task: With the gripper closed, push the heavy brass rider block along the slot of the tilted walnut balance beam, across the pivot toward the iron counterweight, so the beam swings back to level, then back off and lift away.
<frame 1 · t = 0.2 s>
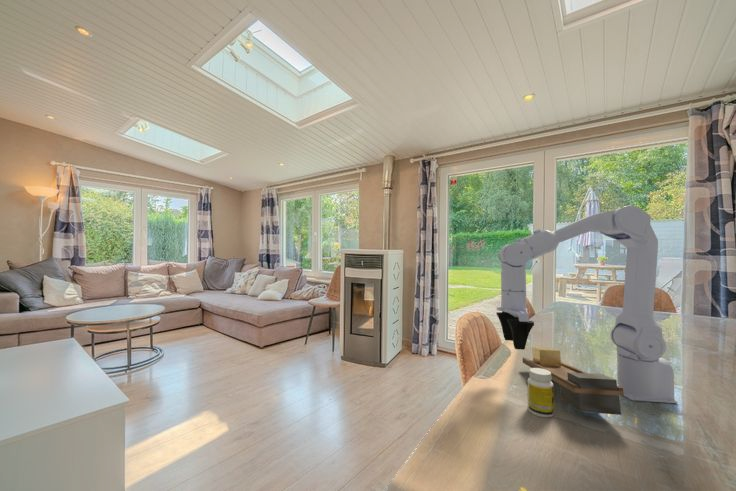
hand: (514, 344, 77), 10 cm above the table, tool pointing down, fingers open, 7 cm apart
beam: (563, 377, 72), point 4 cm above the table, hinge at 8.1°, touching rider
rider: (546, 364, 81), point 4 cm above the table, tilted 8°, touching beam
stand: (563, 393, 72), on the table
supplement bottle: (540, 412, 63), on the table
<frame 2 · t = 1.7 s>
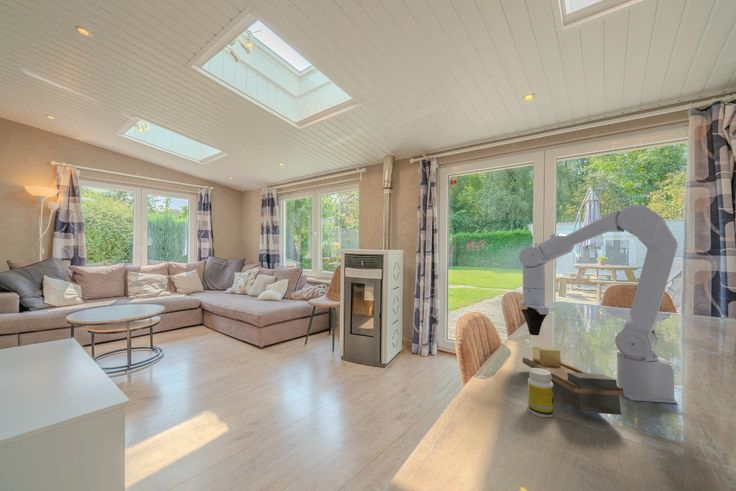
hand: (534, 334, 89), 9 cm above the table, tool pointing down, fingers closed
nothing on the table moved.
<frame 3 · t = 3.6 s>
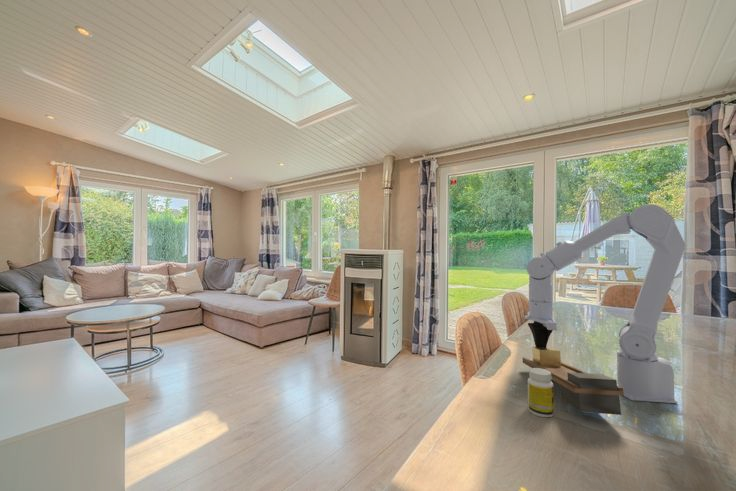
hand: (540, 350, 84), 6 cm above the table, tool pointing down, fingers closed
rider: (546, 364, 81), point 4 cm above the table, tilted 8°, touching beam, gripper
everything else where it was.
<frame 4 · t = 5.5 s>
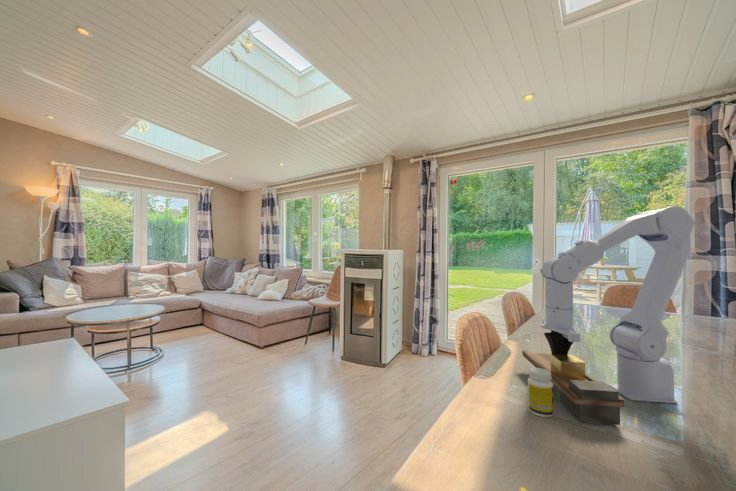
hand: (559, 363, 73), 6 cm above the table, tool pointing down, fingers closed
beam: (563, 377, 72), point 4 cm above the table, hinge at -0.3°
rider: (567, 375, 70), point 5 cm above the table, touching gripper
everything else where it was.
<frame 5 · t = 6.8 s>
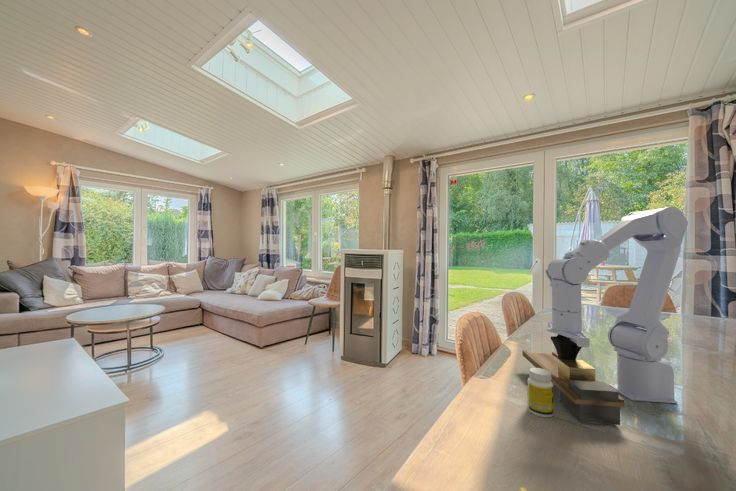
hand: (567, 369, 70), 6 cm above the table, tool pointing down, fingers closed
beam: (563, 377, 72), point 4 cm above the table, hinge at -0.2°, touching rider
rider: (576, 382, 66), point 5 cm above the table, touching beam, gripper
everything else where it was.
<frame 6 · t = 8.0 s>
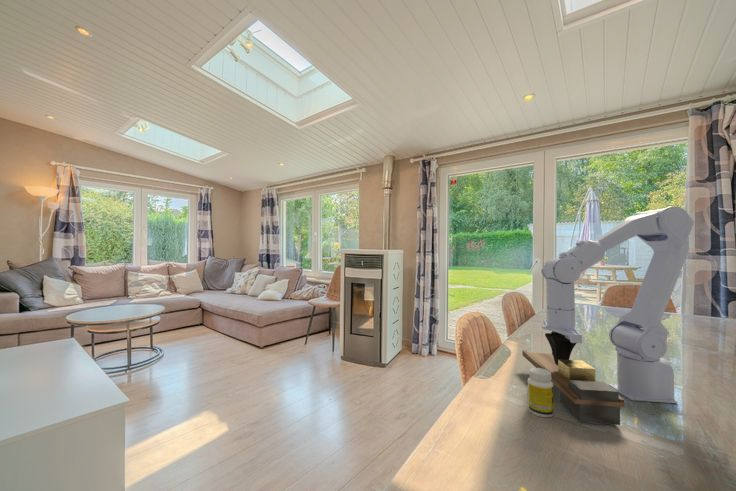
hand: (561, 365, 73), 6 cm above the table, tool pointing down, fingers closed
rider: (576, 382, 66), point 5 cm above the table, touching beam
everything else where it was.
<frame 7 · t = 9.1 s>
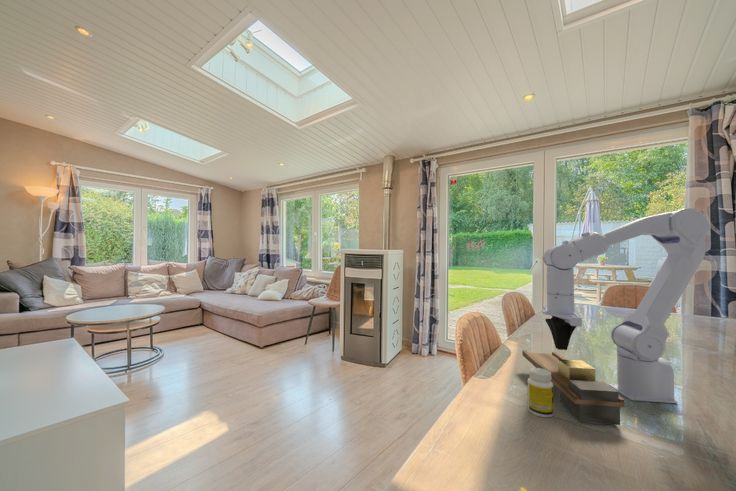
hand: (561, 348, 75), 9 cm above the table, tool pointing down, fingers closed
nothing on the table moved.
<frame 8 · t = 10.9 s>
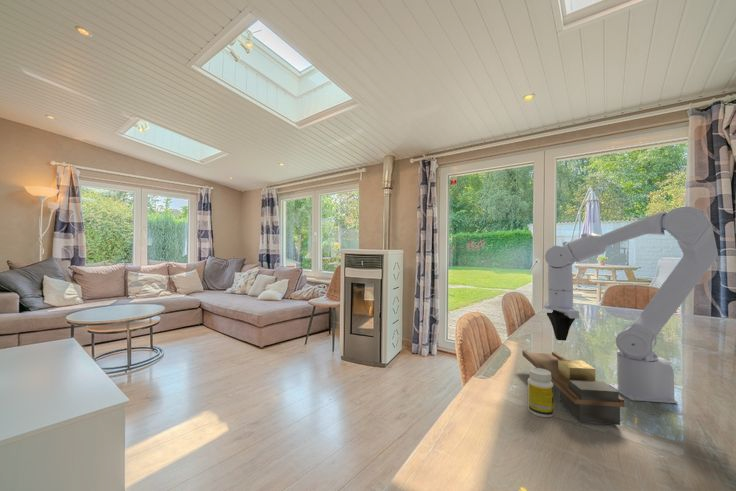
hand: (561, 339, 83), 9 cm above the table, tool pointing down, fingers closed
nothing on the table moved.
at the end: beam at +0° (first picture: +8°); rider inside the target area on the beam (0.3 cm from its centre), point 0.8 cm above the beam's base; rider touching beam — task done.
